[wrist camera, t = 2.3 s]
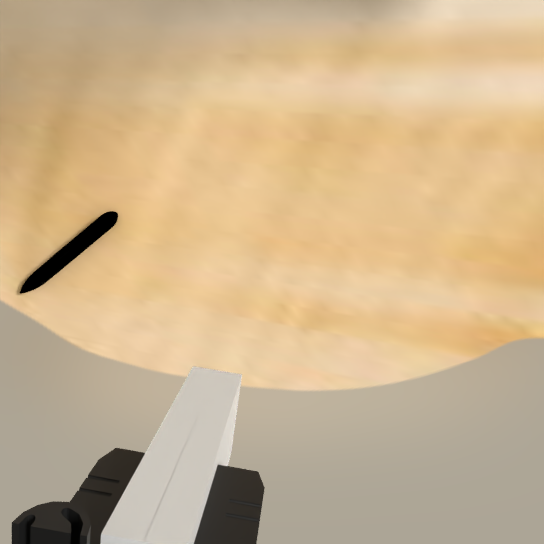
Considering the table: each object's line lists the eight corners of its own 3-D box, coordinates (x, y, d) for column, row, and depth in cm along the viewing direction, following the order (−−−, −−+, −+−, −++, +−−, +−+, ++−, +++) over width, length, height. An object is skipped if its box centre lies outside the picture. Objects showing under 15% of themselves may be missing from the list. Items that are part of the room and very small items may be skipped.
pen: (21, 284, 53) (12, 288, 51) (114, 206, 50) (107, 207, 48) (31, 295, 53) (22, 300, 52) (124, 218, 50) (118, 220, 49)
